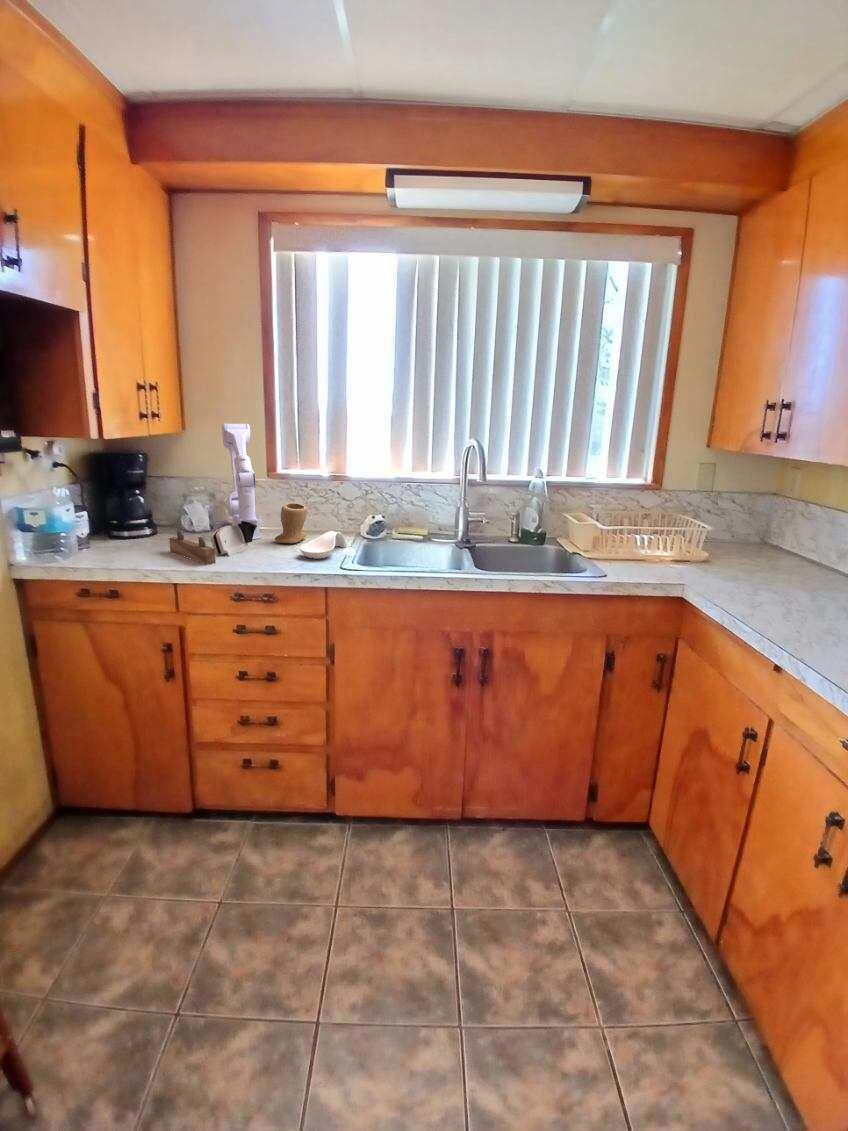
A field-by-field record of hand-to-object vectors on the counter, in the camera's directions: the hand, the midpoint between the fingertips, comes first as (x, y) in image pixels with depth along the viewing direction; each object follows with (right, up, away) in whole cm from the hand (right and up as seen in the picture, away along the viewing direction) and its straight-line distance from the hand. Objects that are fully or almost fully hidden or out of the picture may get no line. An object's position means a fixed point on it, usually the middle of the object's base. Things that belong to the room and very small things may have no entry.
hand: (248, 542), depth 207 cm
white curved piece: (-5, -4, -5) cm, 8 cm away
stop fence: (-14, -6, -16) cm, 22 cm away
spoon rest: (+29, -5, -4) cm, 30 cm away
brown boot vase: (+14, +1, +13) cm, 19 cm away
